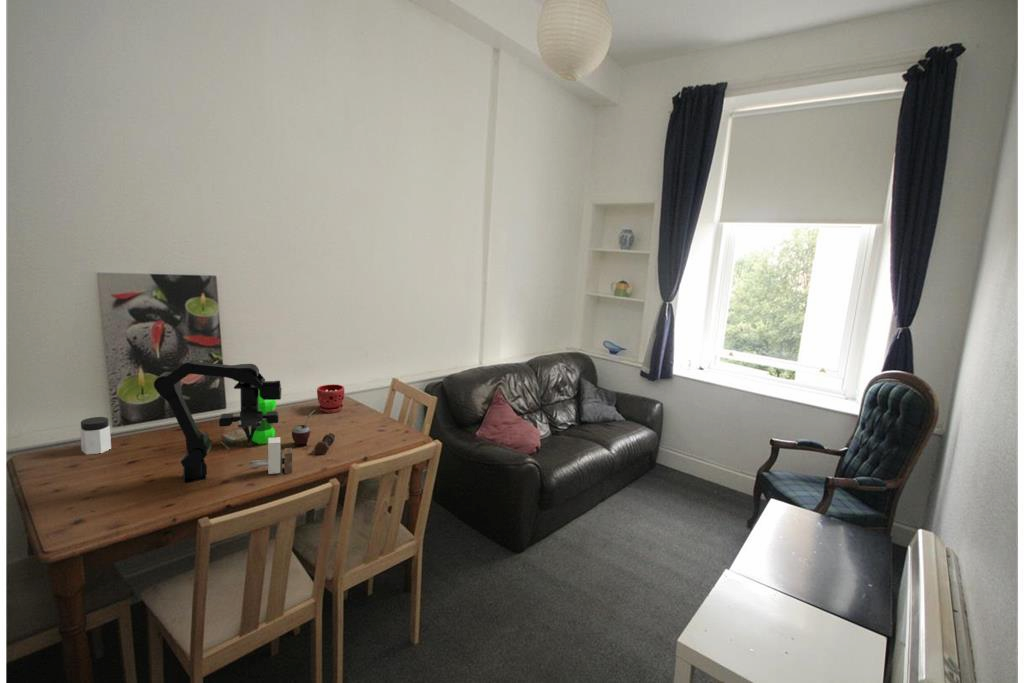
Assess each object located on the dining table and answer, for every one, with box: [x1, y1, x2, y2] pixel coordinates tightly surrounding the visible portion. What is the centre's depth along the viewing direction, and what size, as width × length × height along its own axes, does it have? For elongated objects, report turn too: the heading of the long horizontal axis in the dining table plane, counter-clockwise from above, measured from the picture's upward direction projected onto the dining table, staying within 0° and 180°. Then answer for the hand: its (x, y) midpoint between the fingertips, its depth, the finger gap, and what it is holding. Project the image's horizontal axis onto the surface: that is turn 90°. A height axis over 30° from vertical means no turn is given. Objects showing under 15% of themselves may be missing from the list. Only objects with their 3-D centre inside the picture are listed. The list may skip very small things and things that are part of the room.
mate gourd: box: [291, 409, 316, 448], centre depth 215 cm, size 8×8×15 cm
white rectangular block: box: [267, 436, 283, 475], centre depth 190 cm, size 5×5×12 cm
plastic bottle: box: [249, 389, 277, 445], centre depth 213 cm, size 10×10×25 cm
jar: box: [79, 416, 112, 456], centre depth 194 cm, size 9×8×12 cm
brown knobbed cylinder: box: [314, 432, 336, 455], centre depth 216 cm, size 6×5×15 cm
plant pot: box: [316, 384, 345, 413], centre depth 260 cm, size 13×13×12 cm
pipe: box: [249, 457, 285, 468], centre depth 189 cm, size 12×3×3 cm, turn 115°
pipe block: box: [276, 447, 293, 475], centre depth 191 cm, size 5×5×8 cm
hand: (250, 440), depth 185 cm, fingers closed
